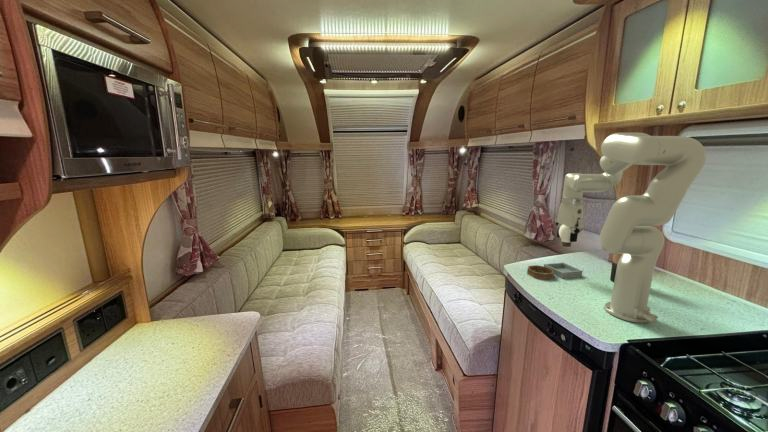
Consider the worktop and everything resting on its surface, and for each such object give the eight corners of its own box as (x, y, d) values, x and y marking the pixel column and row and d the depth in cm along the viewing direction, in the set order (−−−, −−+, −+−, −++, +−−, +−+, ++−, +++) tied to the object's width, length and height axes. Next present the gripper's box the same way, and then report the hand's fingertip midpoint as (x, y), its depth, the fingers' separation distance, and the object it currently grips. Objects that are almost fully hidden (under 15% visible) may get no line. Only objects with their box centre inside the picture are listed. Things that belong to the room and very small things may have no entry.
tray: (581, 276, 135) (582, 270, 134) (561, 278, 133) (562, 272, 132) (562, 267, 145) (563, 262, 145) (543, 269, 143) (544, 264, 143)
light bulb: (577, 246, 135) (580, 223, 133) (568, 248, 132) (571, 224, 130) (563, 242, 141) (566, 220, 139) (553, 244, 138) (556, 221, 136)
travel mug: (636, 285, 125) (644, 240, 121) (617, 285, 126) (625, 240, 121) (622, 278, 133) (629, 235, 129) (605, 278, 133) (612, 235, 129)
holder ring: (558, 278, 133) (559, 273, 132) (538, 280, 130) (539, 274, 130) (541, 269, 143) (542, 264, 142) (522, 271, 140) (523, 266, 140)
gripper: (595, 204, 125) (589, 244, 128) (563, 198, 141) (558, 234, 145) (581, 204, 123) (575, 245, 127) (549, 198, 140) (545, 234, 143)
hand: (566, 239), depth 136 cm, fingers closed on light bulb, 6 cm apart
